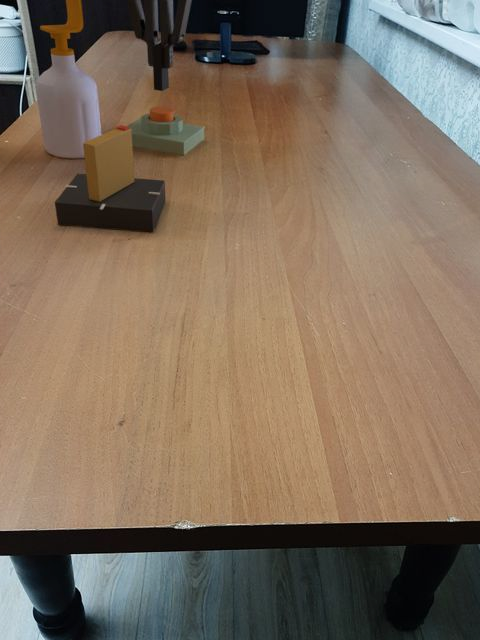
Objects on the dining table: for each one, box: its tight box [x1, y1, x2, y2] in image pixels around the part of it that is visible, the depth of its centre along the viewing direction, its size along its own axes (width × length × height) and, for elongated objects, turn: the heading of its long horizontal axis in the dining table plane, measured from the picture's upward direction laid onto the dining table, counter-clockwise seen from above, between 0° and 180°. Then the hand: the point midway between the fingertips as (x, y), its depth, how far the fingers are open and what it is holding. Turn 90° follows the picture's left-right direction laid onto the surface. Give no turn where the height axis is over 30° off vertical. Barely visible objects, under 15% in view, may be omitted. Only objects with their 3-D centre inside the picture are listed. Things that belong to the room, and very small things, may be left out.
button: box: [149, 106, 174, 122], centre depth 98 cm, size 4×4×2 cm
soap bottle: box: [35, 0, 103, 160], centre depth 86 cm, size 9×9×25 cm
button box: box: [126, 112, 205, 156], centre depth 99 cm, size 12×10×4 cm
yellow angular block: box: [83, 125, 135, 202], centre depth 72 cm, size 8×2×7 cm, turn 158°
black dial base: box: [54, 173, 166, 233], centre depth 75 cm, size 12×12×3 cm
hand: (161, 88), depth 95 cm, fingers closed
